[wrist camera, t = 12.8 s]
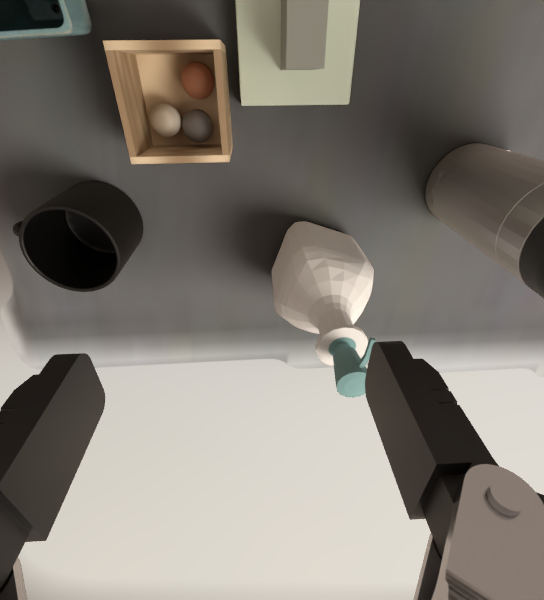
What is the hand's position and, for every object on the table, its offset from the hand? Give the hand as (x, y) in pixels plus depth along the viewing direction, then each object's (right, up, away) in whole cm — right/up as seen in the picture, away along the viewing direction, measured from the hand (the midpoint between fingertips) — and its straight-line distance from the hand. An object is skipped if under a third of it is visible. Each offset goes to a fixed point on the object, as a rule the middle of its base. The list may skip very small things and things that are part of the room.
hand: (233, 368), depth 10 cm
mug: (-21, +12, +31) cm, 39 cm away
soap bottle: (+6, +8, +35) cm, 37 cm away
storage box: (-8, +22, +24) cm, 34 cm away
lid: (+3, +27, +22) cm, 35 cm away
